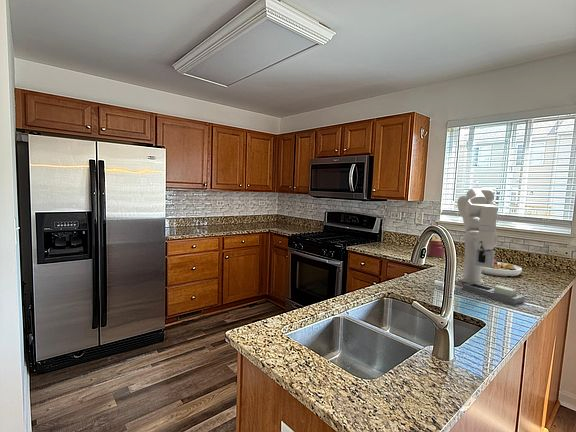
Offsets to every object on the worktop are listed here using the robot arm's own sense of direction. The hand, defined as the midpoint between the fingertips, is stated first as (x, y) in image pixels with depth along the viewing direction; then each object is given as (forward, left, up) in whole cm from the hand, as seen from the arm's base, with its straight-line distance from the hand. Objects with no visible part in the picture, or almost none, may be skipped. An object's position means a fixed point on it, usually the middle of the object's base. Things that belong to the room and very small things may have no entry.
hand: (484, 261), depth 169 cm
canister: (-68, -77, -17) cm, 104 cm away
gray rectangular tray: (+1, +5, -17) cm, 18 cm away
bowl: (-59, -24, -18) cm, 66 cm away
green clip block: (+1, +11, -17) cm, 21 cm away
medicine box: (0, 0, -3) cm, 3 cm away
